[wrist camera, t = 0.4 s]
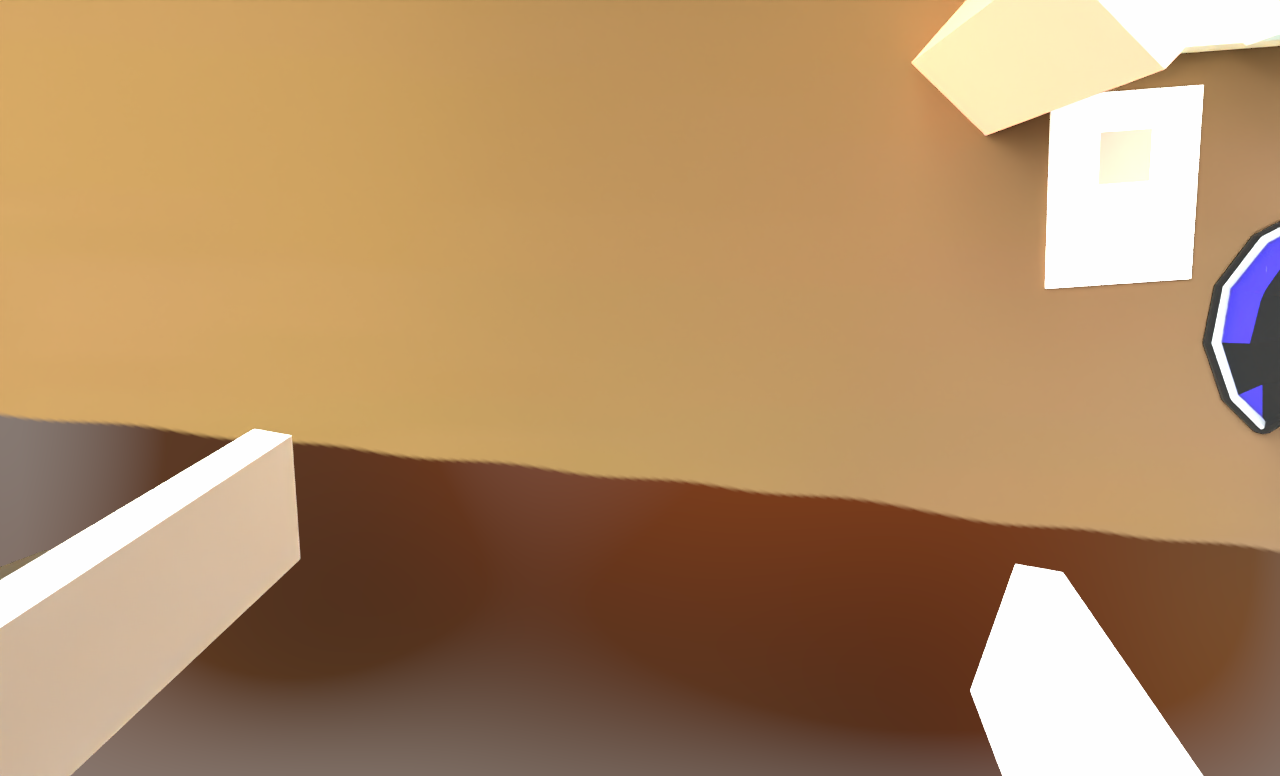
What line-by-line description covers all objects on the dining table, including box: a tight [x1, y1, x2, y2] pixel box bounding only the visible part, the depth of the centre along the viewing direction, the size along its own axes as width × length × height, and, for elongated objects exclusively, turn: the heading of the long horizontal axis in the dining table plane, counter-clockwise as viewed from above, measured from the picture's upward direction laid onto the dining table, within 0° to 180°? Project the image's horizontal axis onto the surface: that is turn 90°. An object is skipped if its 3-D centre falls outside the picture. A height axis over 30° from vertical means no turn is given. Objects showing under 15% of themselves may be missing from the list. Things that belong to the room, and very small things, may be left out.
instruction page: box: [1045, 85, 1204, 289], centre depth 34 cm, size 9×7×1 cm
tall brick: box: [911, 0, 1230, 135], centre depth 27 cm, size 5×5×12 cm
